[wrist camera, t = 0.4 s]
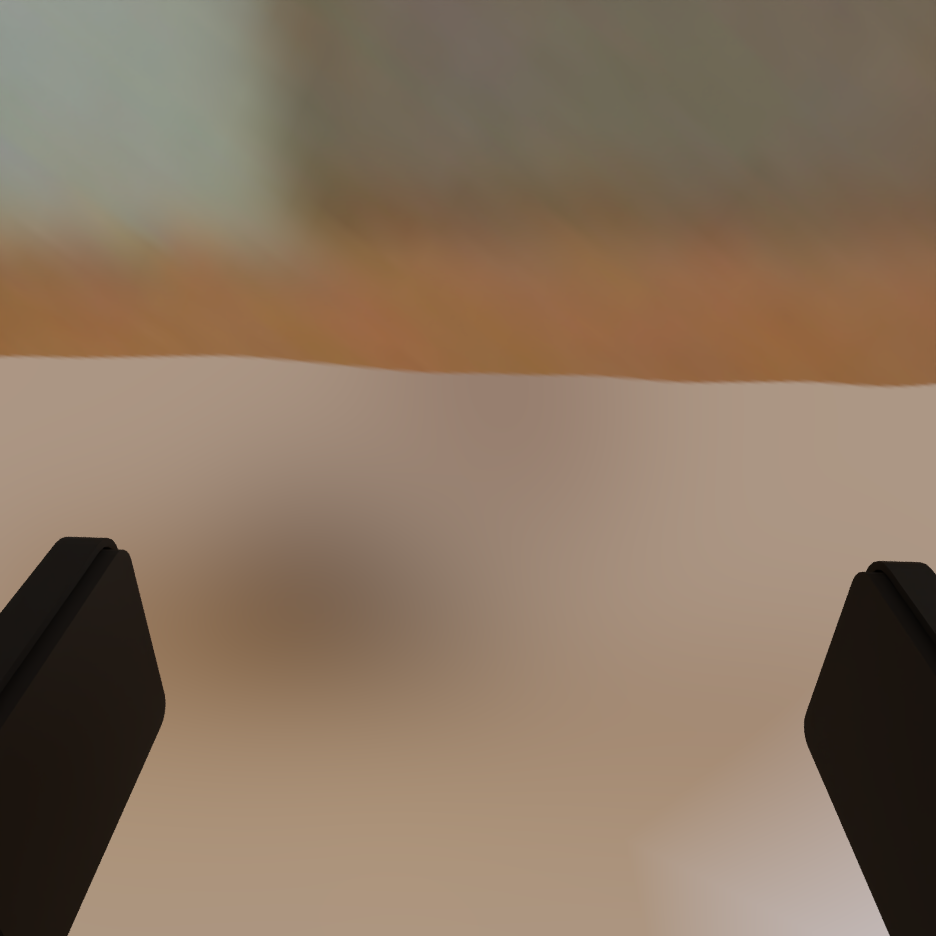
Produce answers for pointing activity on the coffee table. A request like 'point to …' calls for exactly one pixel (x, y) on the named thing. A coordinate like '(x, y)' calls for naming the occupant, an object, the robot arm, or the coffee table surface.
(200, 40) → the coffee table surface
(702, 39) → the coffee table surface
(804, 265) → the coffee table surface
